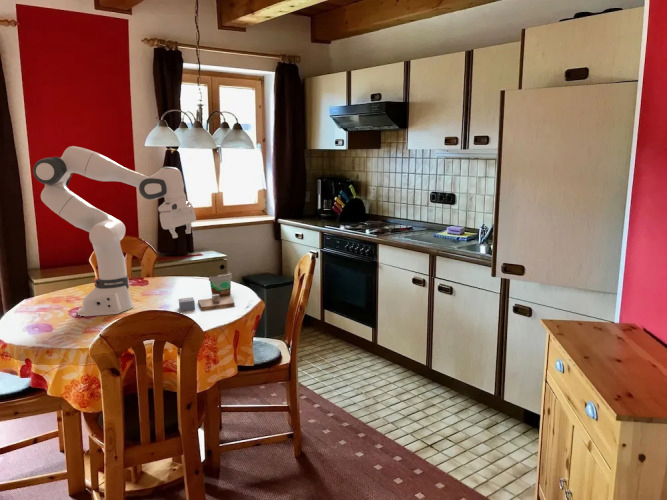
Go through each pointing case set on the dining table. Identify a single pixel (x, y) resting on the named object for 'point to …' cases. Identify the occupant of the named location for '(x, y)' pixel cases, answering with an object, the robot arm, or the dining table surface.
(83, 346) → the dining table surface
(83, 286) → the dining table surface
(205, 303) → the board
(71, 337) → the dining table surface
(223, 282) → the food container
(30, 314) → the dining table surface
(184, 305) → the grey drawer unit
